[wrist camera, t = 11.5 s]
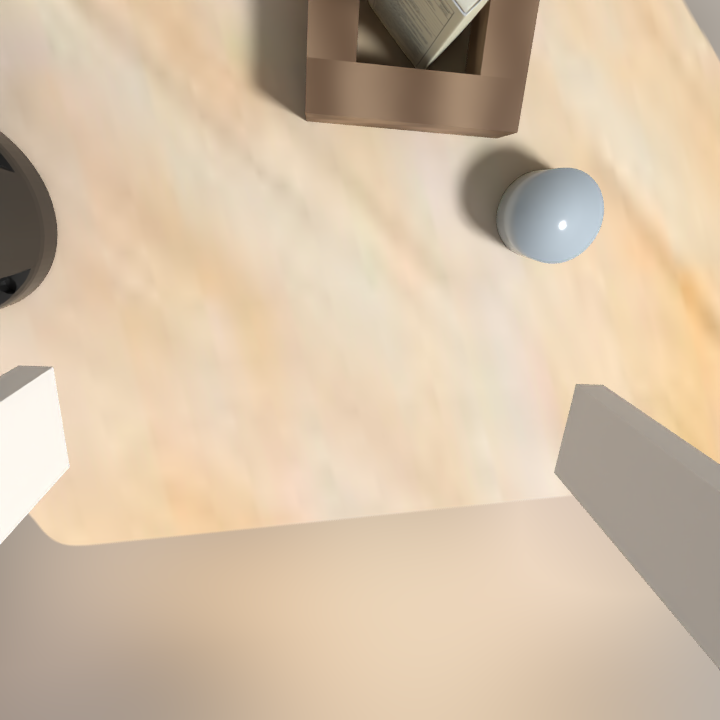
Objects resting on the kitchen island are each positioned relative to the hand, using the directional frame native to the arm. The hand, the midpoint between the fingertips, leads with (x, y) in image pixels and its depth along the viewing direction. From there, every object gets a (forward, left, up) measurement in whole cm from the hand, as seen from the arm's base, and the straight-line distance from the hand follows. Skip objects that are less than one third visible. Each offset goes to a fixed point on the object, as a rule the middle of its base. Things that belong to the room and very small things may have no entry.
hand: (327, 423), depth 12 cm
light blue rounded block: (+18, +5, -29) cm, 34 cm away
